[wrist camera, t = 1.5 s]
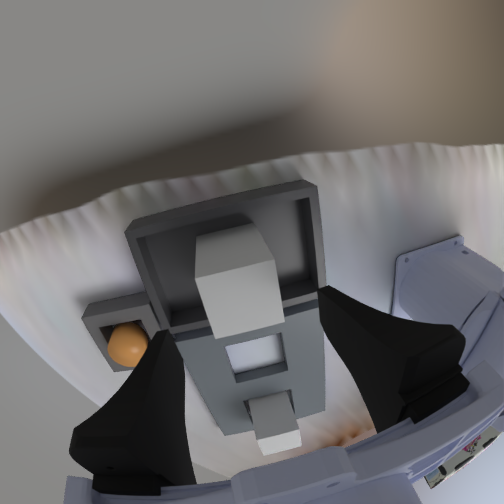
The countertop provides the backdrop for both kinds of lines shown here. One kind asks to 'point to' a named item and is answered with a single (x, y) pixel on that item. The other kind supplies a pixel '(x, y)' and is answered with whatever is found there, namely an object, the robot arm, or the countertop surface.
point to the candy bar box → (462, 457)
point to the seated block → (274, 423)
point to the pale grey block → (237, 281)
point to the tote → (220, 218)
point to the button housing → (119, 320)
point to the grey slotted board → (264, 379)
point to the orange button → (127, 344)
